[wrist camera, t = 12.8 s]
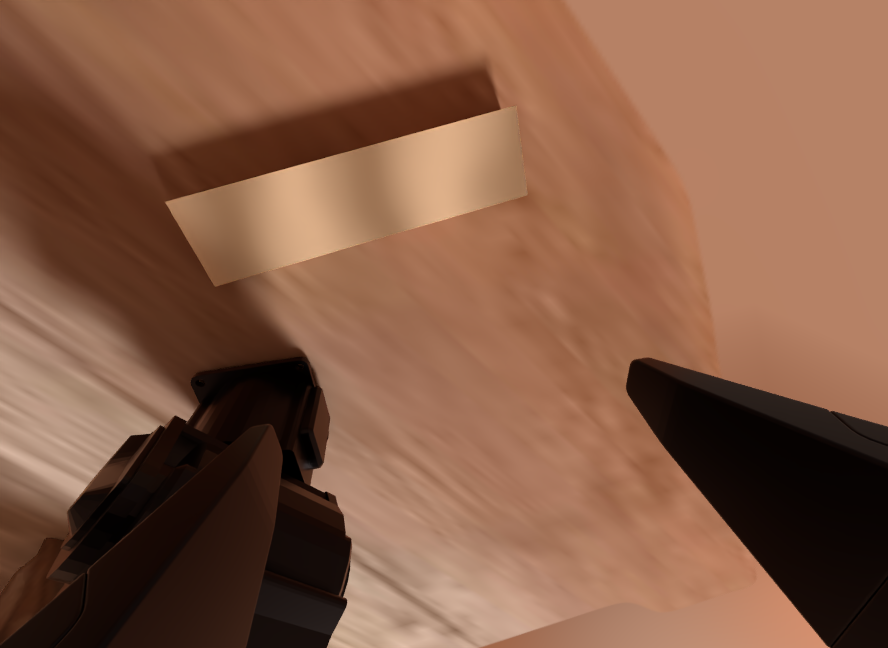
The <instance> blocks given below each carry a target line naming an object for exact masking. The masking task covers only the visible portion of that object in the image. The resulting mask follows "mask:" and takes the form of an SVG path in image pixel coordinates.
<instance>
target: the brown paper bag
mask: <svg viewBox="0 0 888 648" xmlns="http://www.w3.org/2000/svg"><path fill="white" fill-rule="evenodd" d="M63 542H64V541H61V540H58V539H52V538H46V539H45V540H44V542H43V544H42V546H41V548H40V550H39V552H38V554H37V555H36V556H35V557H34V558H33V559H32V560H31V561H29V562H28V563H27V564H26V565H25V566H23V567H21V568H20V569H19V570H18V571H17V572H16V573H15V574H14V575H13V577H12V578H11V580H10V581H9V583H8V584H7V586H6V587H5V589H4V590H3V592H2V593H1V595H0V644H1V643H2V642H3V641H4V640H6V639H7V638H8V637H9V636H11V635H12V634H13V633H14V632H15V631H16V630H18V629H19V628H20V627H21V626H22V625H24V624H25V623H26V622H27V621H28V620H29V619H31V618H32V617H33V616H34V615H35V614H36V613H38V612H39V611H40V610H41V609H42V608H43V607H45V606H46V605H47V604H48V603H49V602H51V601H52V600H53V599H54V597H55V596H56V595H57V594H58V592H59V591H60V590H61V588H62V587H63V586H64V584H65V583H62V582H58V581H54V580H50V579H47V578H46V577H47V574H48V573H49V571H50V569H51V567H52V565H53V564H54V562H55V560H56V558H57V556H58V555H59V553H60V551H61V546H62V544H63Z"/></svg>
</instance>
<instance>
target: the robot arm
mask: <svg viewBox="0 0 888 648" xmlns="http://www.w3.org/2000/svg"><path fill="white" fill-rule="evenodd" d="M297 364H302V365H303V366H304V367H303V368H299V367H298V366H297ZM199 380H203V381H205V383H202V382H200V381H199ZM191 386H192V388H193V390H194V392H195V394H196V396H197V399H198V401H199V403H200V405H199V406H198V407H197V409H196V410H195V412H194V413H193V415H192V416H191V418H190V419H189V420H188V422H187V421H185V420H183V419H181V418H179V417H177V416H174V417H173V418H172V419H171V420H170V421H169V422H168V423H167V424H166V425H165V426H164V427H163V426H161V425H160V426H159V427H158V428H157V429H156V430H155V431H154V432H152V433H151V434H144V435H133V436H130V437H129V438H128V439H127V441H126V442H125V443H124V444H123V445H122V446H121V447H120V448H119V449H118V451H117V452H116V453H115V454H114V455H113V456H112V458H111V459H110V460H109V461H108V462H107V463H106V464H105V466H104V467H103V468H102V469H101V470H100V471H99V473H98V474H97V475H96V476H95V477H94V478H93V480H92V481H91V482H90V483H89V485H88V486H87V487H86V488H85V490H84V491H83V492H82V493H81V495H80V496H79V497H78V498H77V500H76V501H75V502H74V504H73V505H72V506H71V507H70V509H69V510H68V511H67V516H68V524H69V534H68V536H67V537H66V539H65V540H64V542H63V544H62V546H61V551H60V553H59V555H58V556H57V558H56V560H55V562H54V564H53V565H52V567H51V569H50V571H49V573H48V574H47V577H46V578H47V579H50V580H54V581H58V582H62V583H65V584H64V586H63V587H62V588H61V590H60V591H59V592H58V594H57V595H56V596H55V597H54V599H53V600H52V601H51V602H49V603H48V604H47V605H46V606H45V607H43V608H42V609H41V610H40V611H39V612H38V613H36V614H35V615H34V616H33V617H32V618H31V619H29V620H28V621H27V622H26V623H25V624H24V625H22V626H21V627H20V628H19V629H18V630H16V631H15V632H14V633H13V634H12V635H11V636H9V637H8V638H7V639H6V640H4V641H3V642H2V643H1V644H0V648H327V645H328V643H329V640H330V638H331V635H332V633H333V631H334V630H335V628H336V626H337V624H338V622H339V620H340V618H341V616H342V614H343V612H344V610H345V608H346V605H347V599H346V598H343V596H344V592H345V589H346V586H347V582H348V577H349V572H350V558H351V550H352V543H351V538H350V537H348V536H346V535H345V534H346V532H345V524H344V516H343V514H342V512H341V510H340V509H339V507H338V505H337V501H336V497H335V496H334V495H332V494H330V493H328V492H325V493H324V492H322V491H320V490H318V489H316V488H314V487H312V486H310V484H311V478H312V473H313V469H317V468H320V467H321V466H322V465H323V463H324V457H325V450H326V443H327V440H328V436H329V431H328V430H329V423H330V416H329V412H328V409H327V405H326V401H325V397H324V394H323V390H322V388H320V387H319V386H316V384H315V381H314V377H313V373H312V370H311V366H310V363H309V361H308V360H307V359H306V358H303V357H297V358H290V359H284V360H277V361H270V362H264V363H257V364H251V365H244V366H238V367H231V368H224V369H218V370H211V371H205V372H199V373H197V374H196V375H194V377H193V378H192V379H191ZM626 390H627V393H628V395H629V397H630V398H631V400H632V401H633V403H634V404H635V406H636V407H637V409H638V410H639V412H640V413H641V415H642V416H643V418H644V419H645V420H646V422H647V423H648V425H649V426H650V428H651V429H652V431H653V432H654V434H655V435H656V437H657V438H658V440H659V441H660V442H661V444H662V445H663V446H664V448H665V449H666V450H667V451H668V453H669V454H670V455H671V456H672V458H673V459H674V460H675V461H676V462H677V464H678V465H679V466H680V467H681V469H682V470H683V471H684V472H685V473H686V475H687V476H688V477H689V478H690V479H691V481H692V482H693V483H694V484H695V486H696V487H697V488H698V489H699V490H700V492H701V493H702V494H703V495H704V497H705V498H706V499H707V500H708V501H709V503H710V504H711V505H712V506H713V508H714V509H715V510H716V511H717V512H718V514H719V515H720V516H721V517H722V519H723V520H724V521H725V522H726V523H727V525H728V526H729V527H730V528H731V529H732V531H733V532H734V533H735V534H736V536H737V537H738V538H739V539H740V540H741V542H742V543H743V544H744V545H745V547H746V548H747V549H748V550H749V551H750V553H751V554H752V555H753V556H754V558H755V559H756V560H757V561H758V562H759V564H760V565H761V566H762V567H763V568H764V570H765V571H766V572H767V573H768V575H769V576H770V577H771V578H772V579H773V581H774V582H775V583H776V584H777V585H778V587H779V588H780V589H781V590H782V592H783V593H784V594H785V595H786V596H787V598H788V599H789V600H790V601H791V602H792V604H793V605H794V606H795V607H796V609H797V610H798V611H799V612H800V613H801V615H802V616H803V617H804V618H805V620H806V621H807V622H808V623H809V625H810V626H811V627H812V628H813V629H814V631H815V632H816V633H817V634H818V635H819V637H820V638H821V639H822V640H823V642H824V643H825V644H826V645H827V646H828V647H830V648H888V427H887V426H883V425H880V424H876V423H873V422H869V421H866V420H862V419H859V418H855V417H852V416H848V415H845V414H841V413H838V412H835V411H831V412H829V410H827V409H824V408H820V407H817V406H814V405H810V404H807V403H803V402H800V401H796V400H793V399H789V398H786V397H783V396H779V395H776V394H772V393H769V392H766V391H762V390H759V389H755V388H752V387H748V386H745V385H741V384H738V383H734V382H731V381H728V380H724V379H721V378H717V377H714V376H711V375H707V374H704V373H700V372H697V371H693V370H690V369H687V368H683V367H680V366H676V365H673V364H669V363H666V362H663V361H659V360H656V359H652V358H641V359H635V360H633V361H632V362H631V364H630V367H629V373H628V378H627V383H626ZM186 422H187V423H186Z"/></svg>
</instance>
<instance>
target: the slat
mask: <svg viewBox="0 0 888 648" xmlns="http://www.w3.org/2000/svg"><path fill="white" fill-rule="evenodd" d="M526 195H528V193H527V185H526V177H525V169H524V162H523V154H522V146H521V138H520V130H519V122H518V115H517V107H516V106H512V107H508V108H505V109H501V110H497V111H494V112H490V113H487V114H483V115H479V116H476V117H472V118H468V119H465V120H461V121H457V122H454V123H450V124H447V125H443V126H439V127H436V128H432V129H428V130H425V131H421V132H417V133H414V134H410V135H407V136H403V137H399V138H396V139H392V140H388V141H385V142H381V143H377V144H374V145H370V146H367V147H363V148H359V149H356V150H352V151H348V152H345V153H341V154H337V155H334V156H330V157H326V158H323V159H319V160H316V161H312V162H308V163H305V164H301V165H297V166H294V167H290V168H286V169H283V170H279V171H276V172H272V173H268V174H265V175H261V176H257V177H254V178H250V179H246V180H243V181H239V182H236V183H232V184H228V185H225V186H221V187H217V188H214V189H210V190H206V191H203V192H199V193H195V194H192V195H188V196H185V197H181V198H177V199H174V200H170V201H166V202H165V203H166V205H167V206H168V208H169V210H170V211H171V213H172V215H173V216H174V218H175V220H176V222H177V223H178V225H179V227H180V228H181V230H182V232H183V233H184V235H185V237H186V239H187V240H188V242H189V244H190V245H191V247H192V249H193V250H194V252H195V254H196V256H197V257H198V259H199V261H200V262H201V264H202V266H203V268H204V269H205V271H206V273H207V274H208V276H209V278H210V279H211V281H212V283H213V285H214V286H215V287H216V286H219V285H223V284H226V283H230V282H233V281H236V280H240V279H243V278H247V277H250V276H254V275H257V274H260V273H264V272H267V271H271V270H274V269H277V268H281V267H284V266H288V265H291V264H294V263H298V262H301V261H305V260H308V259H312V258H315V257H318V256H322V255H325V254H329V253H332V252H335V251H339V250H342V249H346V248H349V247H352V246H356V245H359V244H363V243H366V242H369V241H373V240H376V239H380V238H383V237H387V236H390V235H393V234H397V233H400V232H404V231H407V230H410V229H414V228H417V227H421V226H424V225H427V224H431V223H434V222H438V221H441V220H445V219H448V218H451V217H455V216H458V215H462V214H465V213H468V212H472V211H475V210H479V209H482V208H485V207H489V206H492V205H496V204H499V203H503V202H506V201H509V200H513V199H516V198H520V197H523V196H526Z"/></svg>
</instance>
